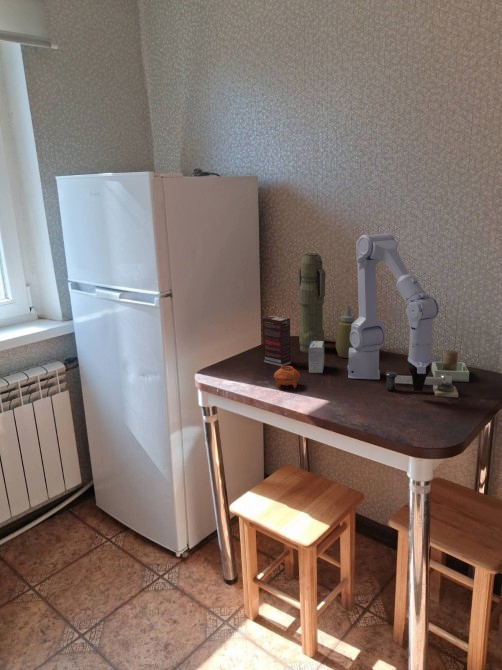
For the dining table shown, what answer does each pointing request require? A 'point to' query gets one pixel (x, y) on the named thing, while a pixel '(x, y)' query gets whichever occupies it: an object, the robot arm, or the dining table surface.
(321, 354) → the medicine box
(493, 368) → the dining table surface
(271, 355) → the supplement box
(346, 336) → the squeeze bottle
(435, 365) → the tray
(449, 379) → the crank lever
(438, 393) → the crank mount
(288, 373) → the pot
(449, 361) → the plug
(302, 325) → the thermos
